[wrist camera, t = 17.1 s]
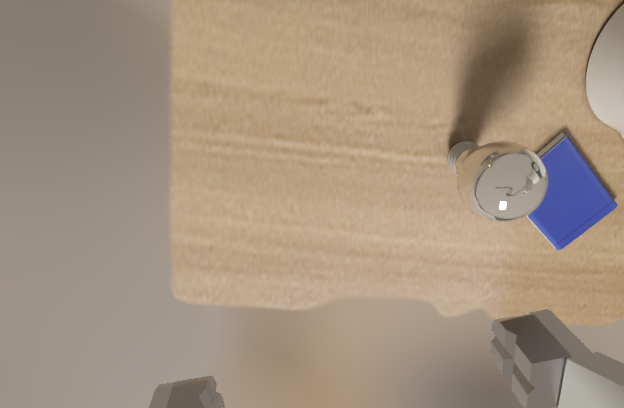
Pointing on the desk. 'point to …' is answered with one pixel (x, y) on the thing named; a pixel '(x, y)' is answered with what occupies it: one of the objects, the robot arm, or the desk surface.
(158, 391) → the robot arm
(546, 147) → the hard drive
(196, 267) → the desk surface
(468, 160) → the light bulb
